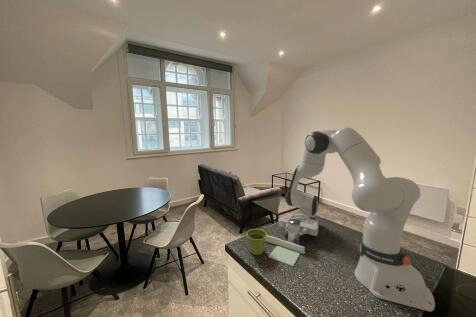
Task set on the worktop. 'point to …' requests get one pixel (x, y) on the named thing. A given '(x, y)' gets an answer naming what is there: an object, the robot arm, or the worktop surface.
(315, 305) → the worktop surface
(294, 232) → the canister
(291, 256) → the pad
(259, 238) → the plant pot
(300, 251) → the wall
